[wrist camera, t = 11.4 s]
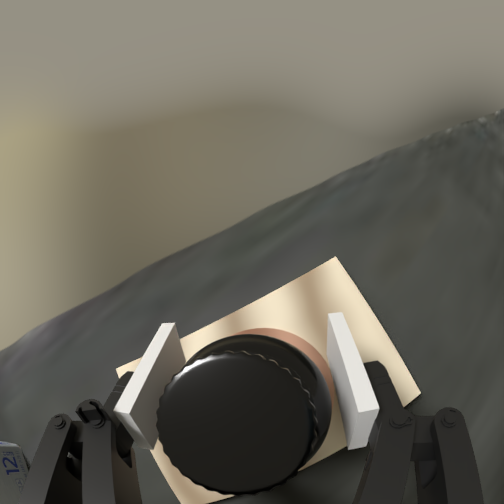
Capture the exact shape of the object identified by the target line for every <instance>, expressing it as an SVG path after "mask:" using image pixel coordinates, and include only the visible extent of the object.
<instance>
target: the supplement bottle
mask: <svg viewBox="0 0 504 504" xmlns="http://www.w3.org/2000/svg"><path fill="white" fill-rule="evenodd" d="M156 414H157V418H158V420H157V423H156V427H157V430H158V432H159V435H158V440H159V441H160V443H161V444H162V446H163V452H164V453H165V454H166V455H167V456H168V457H169V459H170V462H171V464H172V465H173V466H174V467H176V468H177V469H178V470H179V471H180V473H181V474H182V475H183V476H185V477H187V478H189V479H190V480H191V481H192V482H193V483H194V484H196V485H199V486H202V487H204V488H205V489H206V490H208V491H215V492H218V493H220V494H222V495H234V496H238V497H240V496H243V495H254V496H255V495H257V494H259V493H261V492H270V491H271V490H273V489H274V488H275V487H278V486H282V485H284V484H285V483H286V482H287V480H288V479H290V478H292V477H294V476H296V475H297V473H298V470H299V469H300V468H302V467H303V466H304V465H306V463H307V462H308V461H309V460H310V459H311V458H312V457H313V456H314V455H315V454H316V453H317V451H318V450H319V449H320V447H321V445H322V444H323V442H324V440H325V438H326V436H327V433H328V430H329V427H330V423H331V416H332V402H331V396H330V392H329V388H328V385H327V383H326V380H325V378H324V376H323V374H322V373H321V371H320V370H319V368H318V367H317V366H316V364H315V363H314V362H313V361H312V360H311V359H310V358H309V357H308V356H307V355H306V354H305V353H304V352H302V351H301V350H300V349H298V348H297V347H295V346H293V345H291V344H290V343H288V342H285V341H283V340H281V339H278V338H275V337H271V336H267V335H260V334H239V335H233V336H228V337H225V338H222V339H219V340H216V341H214V342H212V343H210V344H208V345H206V346H205V347H203V348H202V349H200V350H199V351H198V352H196V353H195V354H194V355H193V356H192V357H191V358H190V359H189V360H188V361H187V362H186V364H185V365H184V366H183V368H182V369H181V370H180V372H178V373H176V374H174V375H173V377H172V379H171V382H170V383H168V384H167V385H166V386H165V388H164V394H163V395H162V396H161V397H160V398H159V408H158V409H157V411H156Z"/></svg>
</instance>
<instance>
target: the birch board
mask: <svg viewBox="0 0 504 504" xmlns="http://www.w3.org/2000/svg"><path fill="white" fill-rule="evenodd" d="M337 312H342V313H343V315H344V318H345V320H346V323H347V325H348V327H349V330H350V332H351V335H352V337H353V340H354V342H355V345H356V347H357V350H358V352H359V355H360V357H361V360H362V362H363V363H366V362H371V361H377V360H378V361H379V362H380V363H381V364H383V365H384V366H385V367H386V369H387V371H388V374H389V377H390V378H391V380H392V383H393V385H394V387H395V389H396V391H397V394H398V396H399V398H400V401H401V403H402V405H403V407H405V406H406V405H407V404H408V403H410V402H411V401H412V400H413V399H415V398H416V397H417V396H418V395H419V394H421V392H420V391H419V389H418V387H417V385H416V383H415V382H414V380H413V378H412V376H411V374H410V373H409V371H408V369H407V367H406V366H405V364H404V362H403V360H402V359H401V357H400V355H399V354H398V352H397V350H396V349H395V347H394V345H393V344H392V342H391V340H390V339H389V337H388V335H387V334H386V332H385V330H384V329H383V327H382V326H381V324H380V322H379V321H378V319H377V318H376V316H375V315H374V313H373V311H372V310H371V308H370V307H369V305H368V304H367V302H366V301H365V299H364V298H363V296H362V294H361V293H360V291H359V290H358V288H357V287H356V285H355V284H354V282H353V281H352V279H351V278H350V277H349V275H348V274H347V272H346V271H345V269H344V268H343V266H342V265H341V263H340V262H339V261H338V259H337V258H336V257H334V258H332V259H331V260H329V261H327V262H325V263H324V264H322V265H320V266H318V267H317V268H315V269H313V270H311V271H310V272H308V273H306V274H304V275H302V276H301V277H299V278H297V279H295V280H293V281H292V282H290V283H288V284H286V285H284V286H283V287H281V288H279V289H277V290H275V291H273V292H272V293H270V294H268V295H266V296H264V297H262V298H260V299H258V300H257V301H255V302H253V303H251V304H249V305H247V306H245V307H243V308H241V309H239V310H237V311H236V312H234V313H232V314H230V315H228V316H226V317H224V318H222V319H220V320H218V321H216V322H214V323H212V324H210V325H208V326H206V327H204V328H202V329H200V330H198V331H196V332H194V333H192V334H190V335H188V336H186V337H184V338H182V339H180V343H181V346H182V349H183V352H184V355H185V359H186V362H187V361H188V360H189V359H190V358H191V357H192V356H193V355H194V354H195V353H196V352H198V351H199V350H200V349H202V348H203V347H205V346H206V345H208V344H210V343H212V342H214V341H216V340H219V339H222V338H225V337H228V336H233V335H239V334H260V335H267V336H271V337H275V338H278V339H281V340H283V341H285V342H288V343H290V344H291V345H293V346H295V347H297V348H298V349H300V350H301V351H302V352H304V353H305V354H306V355H307V356H308V357H309V358H310V359H311V360H312V361H313V362H314V363H315V364H316V366H317V367H318V368H319V370H320V371H321V373H322V374H323V376H324V378H325V380H326V383H327V385H328V388H329V392H330V396H331V402H332V416H331V423H330V427H329V430H328V433H327V436H326V438H325V440H324V442H323V444H322V445H321V447H320V449H319V450H318V451H317V453H316V454H315V455H314V456H313V457H312V458H311V459H310V460H309V461H308V462H307V463H306V465H304V466H303V467H302V468H300V469H299V470H298V471H300V470H302V469H304V468H306V467H308V466H310V465H312V464H314V463H316V462H318V461H320V460H322V459H324V458H326V457H328V456H330V455H331V454H333V453H335V452H337V451H339V450H340V449H342V448H344V447H346V446H347V441H346V436H345V432H344V427H343V422H342V418H341V413H340V409H339V404H338V400H337V395H336V391H335V387H334V382H333V378H332V374H331V370H330V366H329V362H328V358H327V354H326V353H327V329H328V314H329V313H337ZM141 359H142V357H141V358H139V359H137V360H135V361H132V362H130V363H128V364H126V365H124V366H121V367H119V368H117V369H116V370H117V373H118V376H119V379H120V377H121V376H122V375H124V374H125V373H126V372H127V371H132V372H135V370H136V368H137V366H138V364H139V363H140V361H141ZM185 364H186V363H185ZM150 451H151V453H152V454H153V456H154V458H155V460H156V462H157V464H158V466H159V468H160V469H161V471H162V473H163V475H164V476H165V478H166V480H167V482H168V483H169V485H170V487H171V488H172V490H173V491H174V493H175V495H176V496H177V498H178V499H179V501H180V502H181V504H207V503H211V502H214V501H218V500H222V499H225V498H229V497H232V496H234V495H222V494H220V493H218V492H215V491H208V490H206V489H205V488H204V487H202V486H199V485H196V484H194V483H193V482H192V481H191V480H190V479H189V478H187V477H185V476H183V475H182V474H181V473H180V471H179V470H178V469H177V468H176V467H174V466H173V465H172V464H171V462H170V459H169V457H168V456H167V455H166V454H165V453H164V452H163V446H162V444H161V443H160V441H159V440H158V439H157V442H156V445H155V447H154V450H151V449H150Z"/></svg>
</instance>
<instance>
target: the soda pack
mask: <svg viewBox="0 0 504 504" xmlns="http://www.w3.org/2000/svg"><path fill="white" fill-rule="evenodd" d="M28 472H29V471H28V468H27V465H26V462H25V459H24V456H23V453H22V450H21V447H20V446H19V445H17V444H12V443H7V442H1V441H0V504H18V503H19V499H20V496H21V493H22V490H23V487H24V484H25V481H26V478H27V475H28Z"/></svg>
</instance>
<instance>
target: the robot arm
mask: <svg viewBox="0 0 504 504" xmlns="http://www.w3.org/2000/svg"><path fill="white" fill-rule="evenodd" d="M326 354H327V358H328V362H329V366H330V370H331V374H332V378H333V382H334V387H335V391H336V395H337V400H338V404H339V409H340V413H341V418H342V422H343V427H344V432H345V436H346V441H347V446H348V450H351V449H356V448H361V447H366V445H367V443H368V440H369V444H370V448H371V449H370V452H369V454H368V456H367V458H366V465H365V468H364V471H363V474H362V478H361V481H360V484H359V487H358V489H357V492H356V495H355V498H354V500H353V503H352V504H401V501H402V497H403V493H404V489H405V484H406V480H407V475H408V470H409V464H410V461H415V471H416V481H417V495H418V504H484V503H483V496H482V490H481V484H480V479H479V474H478V469H477V464H476V460H475V456H474V452H473V448H472V444H471V440H470V437H469V433H468V430H467V427H466V423H465V420H464V417H463V415H462V413H461V412H460V411H458V410H457V409H455V408H451V407H450V408H443V409H441V410H440V411H438V412H437V413H436V415H435V416H415V415H413V414H412V413H411V412H409V411H408V410H406V409H404V407H403V405H402V403H401V401H400V398H399V396H398V394H397V391H396V389H395V387H394V385H393V383H392V380H391V378H390V377H389V374H388V371H387V369H386V367H385V366H384V365H383V364H381V363H380V362H379V361H378V360H377V361H371V362H366V363H363V362H362V360H361V357H360V355H359V352H358V350H357V347H356V345H355V342H354V340H353V337H352V335H351V332H350V330H349V327H348V325H347V323H346V320H345V318H344V315H343V313H342V312H337V313H329V314H328V329H327V353H326ZM185 363H186V359H185V355H184V352H183V349H182V346H181V343H180V339H179V336H178V333H177V329H176V326H175V323H162V325H161V326H160V328H159V330H158V331H157V333H156V335H155V337H154V338H153V340H152V342H151V343H150V345H149V347H148V349H147V350H146V352H145V354H144V356H143V357H142V359H141V361H140V363H139V364H138V366H137V368H136V370H135V372H132V371H127V372H126V373H125V374H124V375H122V376H121V377H120V379H119V380H118V382H117V384H116V386H115V387H114V389H113V392H111V394H110V396H109V397H108V399H107V401H106V403H105V404H104V406H102V404H101V403H100V402H99V401H97V400H95V399H89V400H86V401H84V402H82V403H80V404H79V406H78V407H77V409H76V411H75V412H76V413H77V414H78V416H79V417H80V418H81V420H82V421H72V420H71V419H70V417H69V416H68V415H66V414H58V415H55V416H54V417H53V418H51V420H50V421H49V423H48V426H47V428H46V430H45V432H44V435H43V437H42V439H41V442H40V444H39V447H38V449H37V451H36V454H35V456H34V459H33V462H32V464H31V467H30V470H29V472H28V475H27V478H26V481H25V484H24V487H23V490H22V493H21V496H20V499H19V503H18V504H142V500H141V494H140V488H139V482H138V476H137V469H136V461H135V453H134V450H133V448H132V447H131V446H132V444H133V441H134V442H135V443H136V444H137V446H138V447H140V448H145V449H151V450H154V447H155V445H156V442H157V439H158V435H159V432H158V430H157V427H156V423H157V420H158V418H157V414H156V411H157V409H158V408H159V398H160V397H161V396H162V395H163V394H164V388H165V386H166V385H167V384H168V383H170V382H171V379H172V377H173V375H174V374H176V373H178V372H180V370H181V369H182V368H183V366H184V365H185ZM68 452H69V453H70V455H69V457H67V455H68Z"/></svg>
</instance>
